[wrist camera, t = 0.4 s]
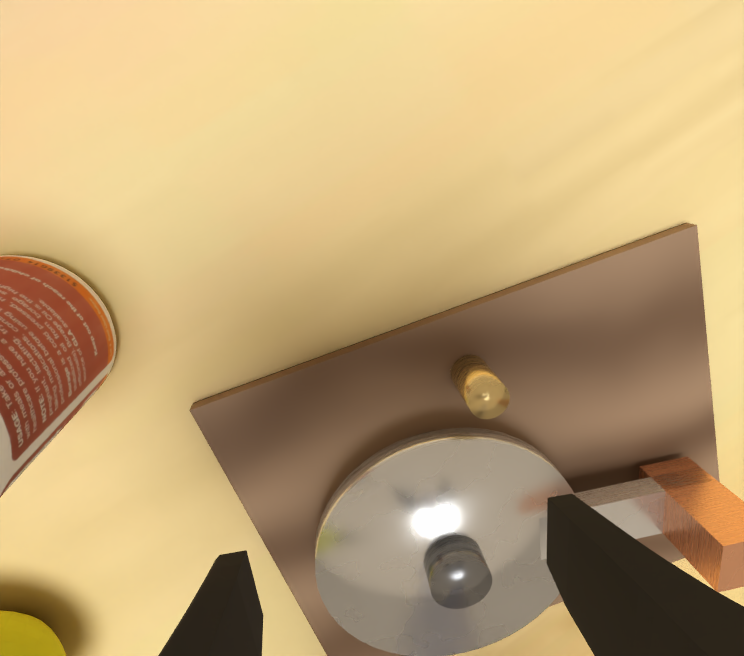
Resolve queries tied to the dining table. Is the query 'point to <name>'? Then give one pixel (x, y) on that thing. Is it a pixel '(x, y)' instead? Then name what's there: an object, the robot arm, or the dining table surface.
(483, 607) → the metal lid
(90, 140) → the dining table surface
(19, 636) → the yellow round fruit
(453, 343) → the board
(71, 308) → the pill bottle
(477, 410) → the dowel
